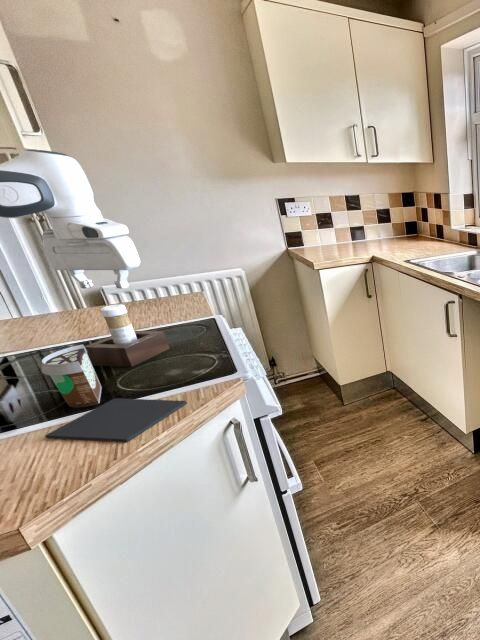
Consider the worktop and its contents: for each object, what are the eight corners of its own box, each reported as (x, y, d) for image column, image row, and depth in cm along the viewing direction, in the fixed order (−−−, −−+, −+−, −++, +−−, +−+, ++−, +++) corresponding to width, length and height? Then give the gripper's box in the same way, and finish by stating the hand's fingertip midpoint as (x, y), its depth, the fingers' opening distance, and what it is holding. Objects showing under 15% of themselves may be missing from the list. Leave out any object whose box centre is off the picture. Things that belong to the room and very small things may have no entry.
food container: (63, 394, 90) (42, 351, 86) (102, 384, 93) (83, 343, 90) (56, 418, 81) (32, 371, 77) (98, 406, 85) (78, 362, 81)
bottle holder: (91, 365, 103) (82, 347, 101) (132, 347, 113) (125, 330, 111) (132, 367, 102) (124, 348, 100) (170, 348, 112) (163, 331, 110)
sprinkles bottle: (132, 352, 110) (112, 303, 104) (148, 353, 109) (129, 303, 104) (115, 360, 105) (94, 309, 100) (132, 360, 105) (111, 309, 100)
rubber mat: (46, 438, 75) (44, 435, 75) (115, 400, 87) (114, 398, 87) (127, 442, 74) (126, 439, 73) (187, 403, 85) (186, 400, 85)
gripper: (23, 231, 93) (52, 291, 98) (107, 230, 91) (131, 292, 96) (54, 227, 99) (80, 284, 104) (133, 226, 97) (155, 284, 102)
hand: (105, 288), depth 100 cm, fingers open, 8 cm apart
